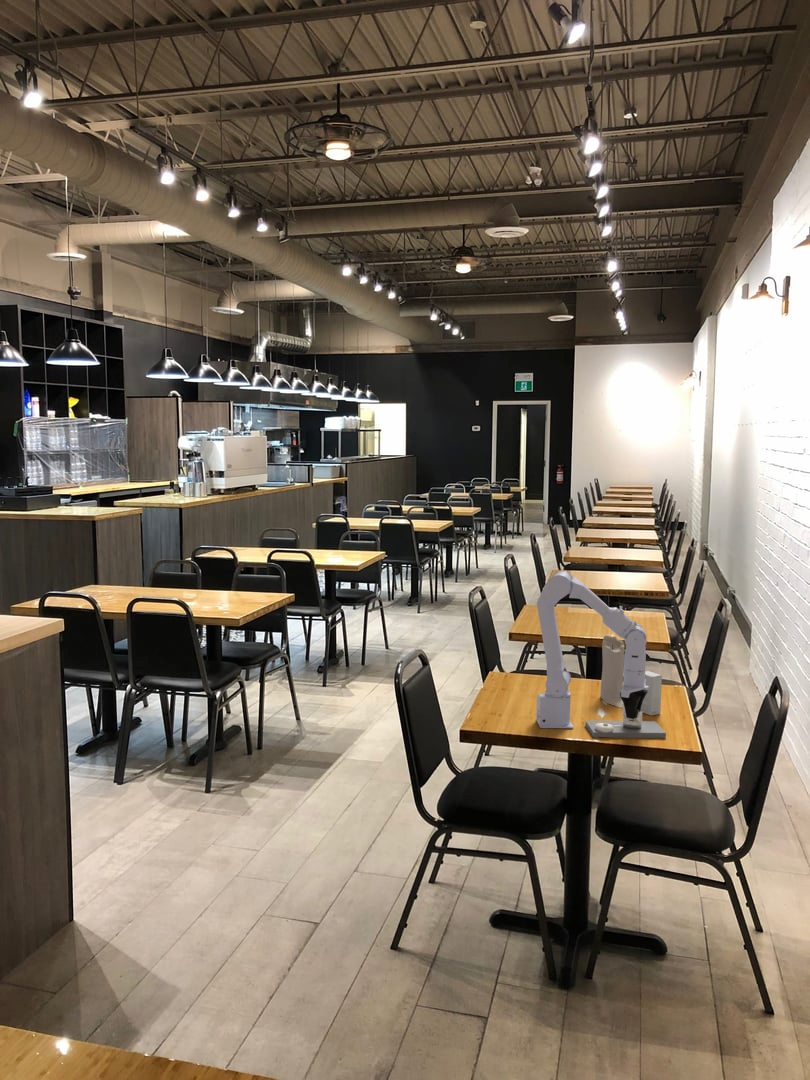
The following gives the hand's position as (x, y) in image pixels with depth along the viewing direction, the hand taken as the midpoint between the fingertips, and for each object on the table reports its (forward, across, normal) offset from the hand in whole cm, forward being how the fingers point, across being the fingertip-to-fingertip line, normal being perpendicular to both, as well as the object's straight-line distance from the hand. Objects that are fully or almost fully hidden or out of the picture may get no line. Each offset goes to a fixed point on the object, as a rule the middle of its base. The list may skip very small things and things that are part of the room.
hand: (632, 716), depth 238 cm
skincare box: (+5, +20, +2) cm, 21 cm away
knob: (+3, 0, 0) cm, 3 cm away
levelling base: (+4, -1, +2) cm, 5 cm away
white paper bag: (+5, +25, +14) cm, 30 cm away
